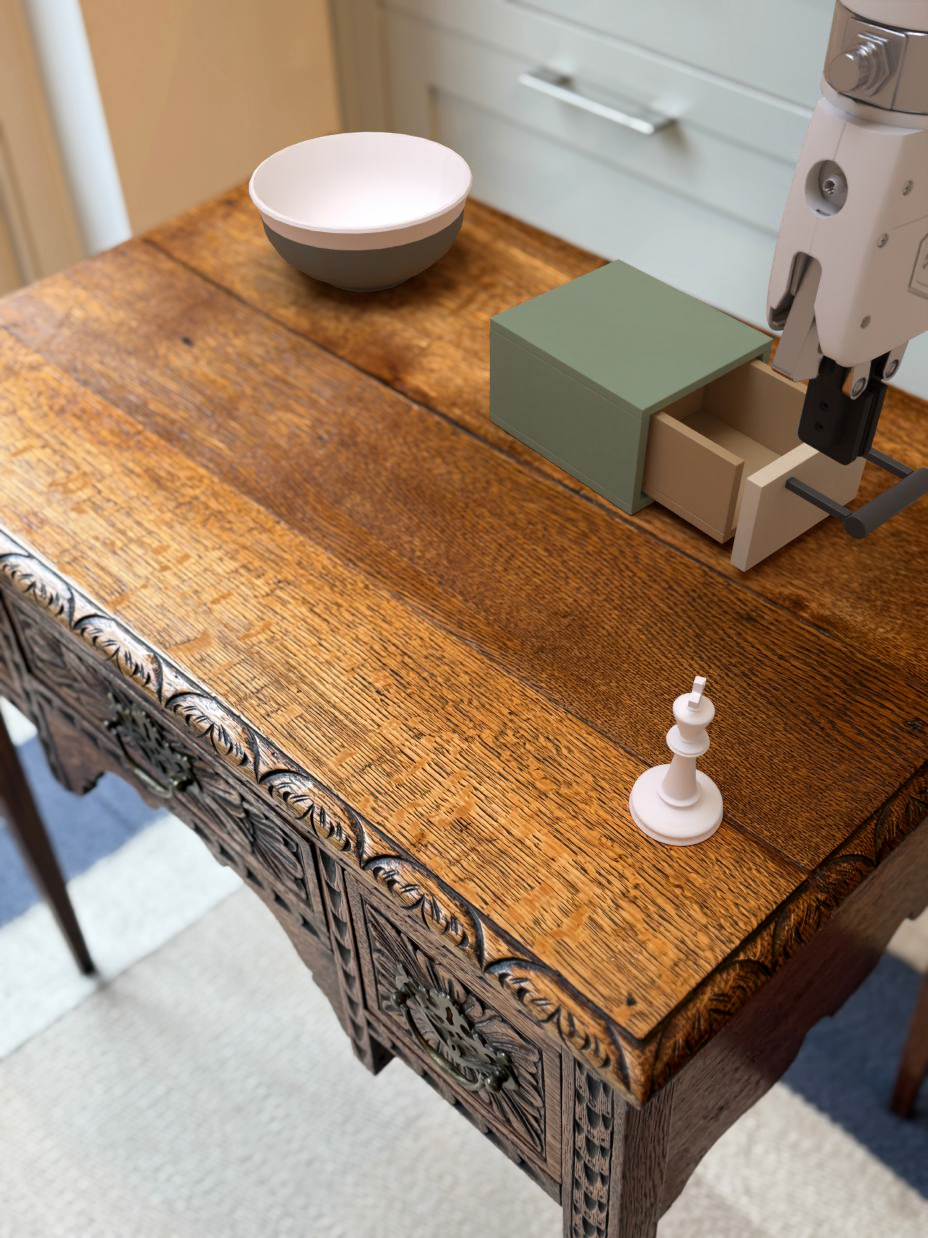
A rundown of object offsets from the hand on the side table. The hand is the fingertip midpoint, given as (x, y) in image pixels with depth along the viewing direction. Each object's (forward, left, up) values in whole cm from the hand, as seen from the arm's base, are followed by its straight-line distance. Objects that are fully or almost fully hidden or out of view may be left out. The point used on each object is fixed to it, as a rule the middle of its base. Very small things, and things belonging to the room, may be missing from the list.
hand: (832, 445), depth 58 cm
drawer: (+4, -14, -15) cm, 21 cm away
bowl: (+44, -34, -17) cm, 58 cm away
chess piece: (+3, +12, -17) cm, 20 cm away
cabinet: (+16, -19, -16) cm, 30 cm away
